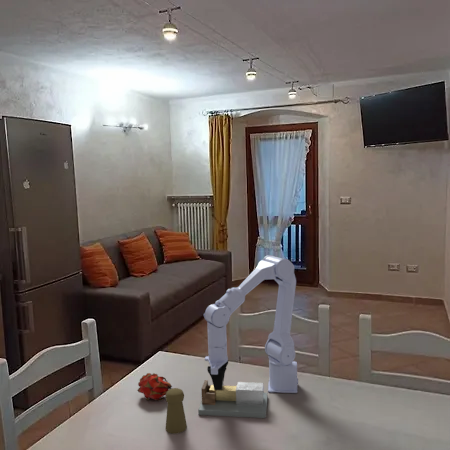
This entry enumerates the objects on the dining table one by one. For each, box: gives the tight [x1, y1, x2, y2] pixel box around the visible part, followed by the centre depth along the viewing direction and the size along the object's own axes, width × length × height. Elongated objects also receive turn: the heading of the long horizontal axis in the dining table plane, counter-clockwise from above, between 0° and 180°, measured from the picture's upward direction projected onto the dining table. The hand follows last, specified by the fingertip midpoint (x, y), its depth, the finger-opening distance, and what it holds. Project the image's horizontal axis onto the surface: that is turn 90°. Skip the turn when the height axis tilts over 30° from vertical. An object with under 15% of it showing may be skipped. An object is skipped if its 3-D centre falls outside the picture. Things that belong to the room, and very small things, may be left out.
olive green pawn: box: [164, 387, 188, 435], centre depth 121 cm, size 6×6×11 cm
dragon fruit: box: [136, 372, 173, 402], centre depth 139 cm, size 8×8×12 cm
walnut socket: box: [201, 379, 216, 405], centre depth 133 cm, size 4×6×5 cm
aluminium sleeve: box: [236, 381, 265, 407], centre depth 132 cm, size 8×5×5 cm, turn 82°
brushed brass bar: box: [209, 383, 237, 401], centre depth 132 cm, size 12×3×7 cm, turn 82°
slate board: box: [197, 392, 268, 419], centre depth 133 cm, size 20×12×2 cm, turn 82°
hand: (218, 386), depth 133 cm, fingers closed on brushed brass bar, 2 cm apart
